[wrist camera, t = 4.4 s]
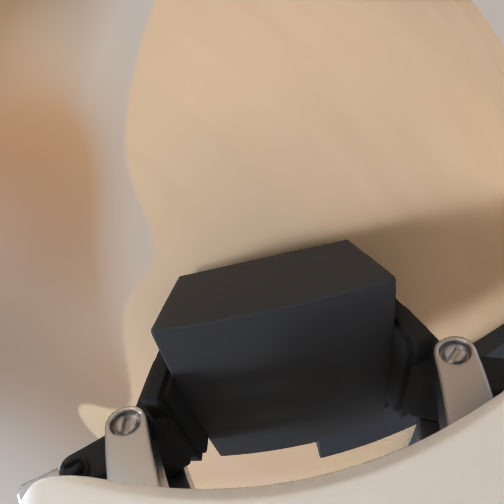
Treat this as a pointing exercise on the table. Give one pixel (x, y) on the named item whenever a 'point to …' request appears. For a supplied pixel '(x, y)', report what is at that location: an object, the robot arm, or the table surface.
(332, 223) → the table surface
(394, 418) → the dark blue flat slab
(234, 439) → the black block
